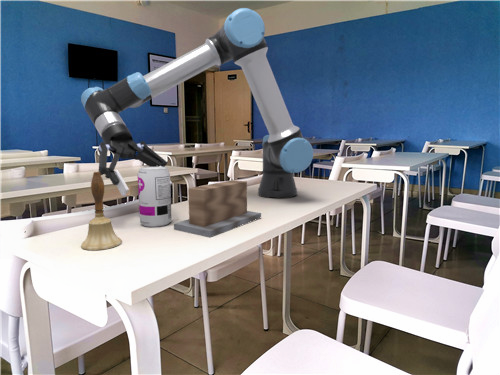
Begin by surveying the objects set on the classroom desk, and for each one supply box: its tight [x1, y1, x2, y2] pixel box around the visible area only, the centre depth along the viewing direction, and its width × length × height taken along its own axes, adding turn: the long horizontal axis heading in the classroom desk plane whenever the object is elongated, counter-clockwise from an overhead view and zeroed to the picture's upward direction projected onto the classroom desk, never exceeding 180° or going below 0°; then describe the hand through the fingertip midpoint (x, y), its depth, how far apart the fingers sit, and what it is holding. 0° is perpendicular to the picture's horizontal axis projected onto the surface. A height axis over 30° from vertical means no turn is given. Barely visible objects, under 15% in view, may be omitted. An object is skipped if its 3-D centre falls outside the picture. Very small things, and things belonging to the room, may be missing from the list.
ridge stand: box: [173, 179, 262, 238], centre depth 93 cm, size 22×12×10 cm, turn 145°
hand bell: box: [80, 171, 123, 251], centre depth 75 cm, size 8×8×16 cm
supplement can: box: [137, 166, 173, 228], centre depth 92 cm, size 8×8×15 cm
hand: (148, 189), depth 93 cm, fingers open, 13 cm apart
